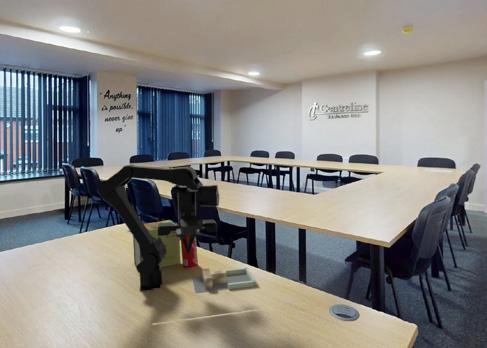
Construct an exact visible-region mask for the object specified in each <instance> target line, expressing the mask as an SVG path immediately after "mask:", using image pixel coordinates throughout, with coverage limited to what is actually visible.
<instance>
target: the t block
mask: <svg viewBox="0 0 487 348" xmlns="http://www.w3.org/2000/svg"><path fill="white" fill-rule="evenodd" d="M210 270H211V269H210V268H202V269H201V277H202V280H203V283H204V287H205V289H210V288H213V284H220V283H226V272H225V270H226V269H222V270H212V271H210Z"/></svg>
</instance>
